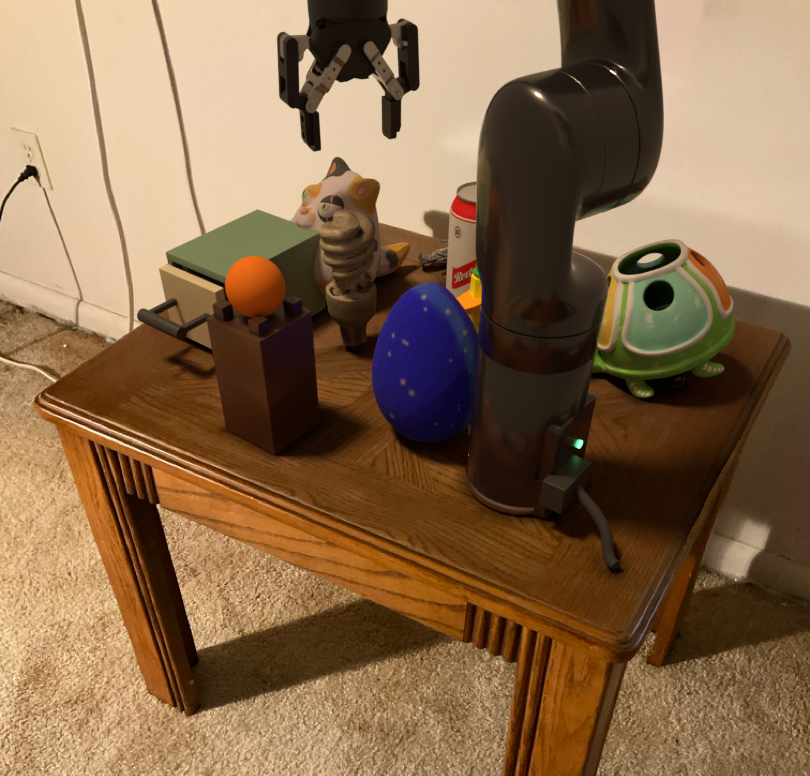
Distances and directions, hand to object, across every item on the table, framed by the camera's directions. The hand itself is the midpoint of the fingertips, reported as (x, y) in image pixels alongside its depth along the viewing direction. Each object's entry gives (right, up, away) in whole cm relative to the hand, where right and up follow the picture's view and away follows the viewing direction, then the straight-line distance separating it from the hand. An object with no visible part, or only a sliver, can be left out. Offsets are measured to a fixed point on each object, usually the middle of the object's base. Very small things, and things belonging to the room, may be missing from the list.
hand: (352, 142), depth 85 cm
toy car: (+34, -24, +1) cm, 41 cm away
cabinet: (-12, -16, +8) cm, 21 cm away
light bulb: (0, -21, +4) cm, 21 cm away
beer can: (+13, -19, +6) cm, 24 cm away
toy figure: (+12, -24, +1) cm, 27 cm away
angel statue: (+11, -3, +18) cm, 21 cm away
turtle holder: (+32, -23, +1) cm, 39 cm away
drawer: (-14, -18, +5) cm, 24 cm away
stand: (-7, -30, -6) cm, 32 cm away
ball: (-7, -20, -16) cm, 27 cm away
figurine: (-1, -10, +14) cm, 18 cm away
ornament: (+7, -31, -6) cm, 32 cm away
